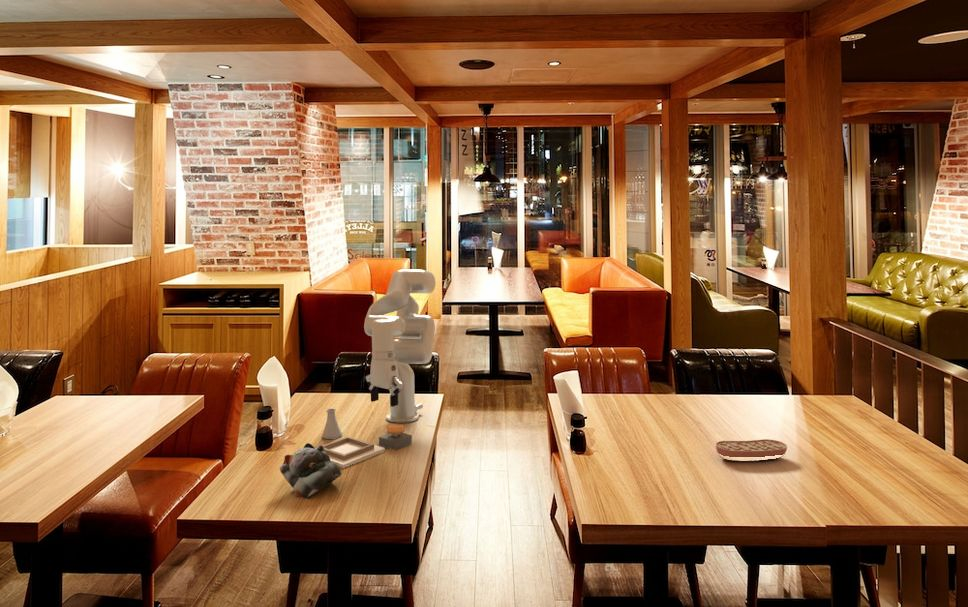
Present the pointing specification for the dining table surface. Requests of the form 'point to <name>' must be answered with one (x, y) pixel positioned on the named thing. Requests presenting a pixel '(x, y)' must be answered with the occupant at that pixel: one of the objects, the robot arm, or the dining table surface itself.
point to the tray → (350, 451)
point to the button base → (395, 440)
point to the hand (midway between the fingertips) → (384, 403)
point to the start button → (395, 429)
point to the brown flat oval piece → (751, 448)
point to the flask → (331, 426)
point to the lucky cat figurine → (309, 470)
